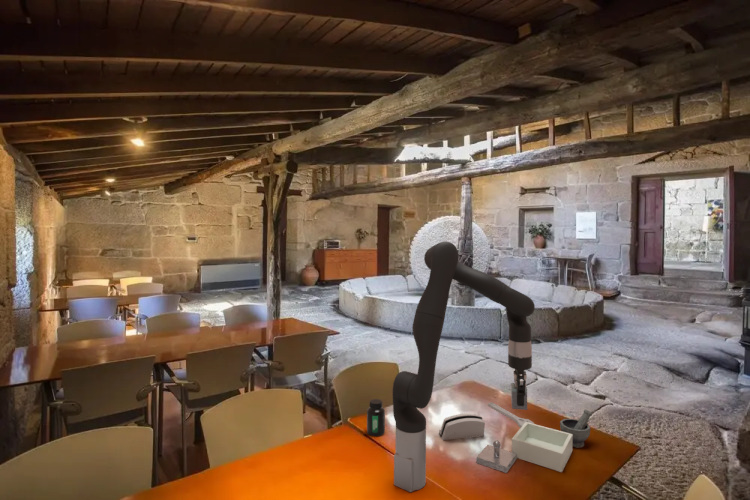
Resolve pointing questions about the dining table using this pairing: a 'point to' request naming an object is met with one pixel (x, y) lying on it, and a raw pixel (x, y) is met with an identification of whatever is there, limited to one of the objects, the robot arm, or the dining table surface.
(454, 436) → the napkin holder
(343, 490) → the dining table surface
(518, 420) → the adjustable wrench
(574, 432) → the mortar and pestle
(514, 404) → the grey rectangular block
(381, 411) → the supplement bottle
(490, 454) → the stud plate
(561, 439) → the bin
